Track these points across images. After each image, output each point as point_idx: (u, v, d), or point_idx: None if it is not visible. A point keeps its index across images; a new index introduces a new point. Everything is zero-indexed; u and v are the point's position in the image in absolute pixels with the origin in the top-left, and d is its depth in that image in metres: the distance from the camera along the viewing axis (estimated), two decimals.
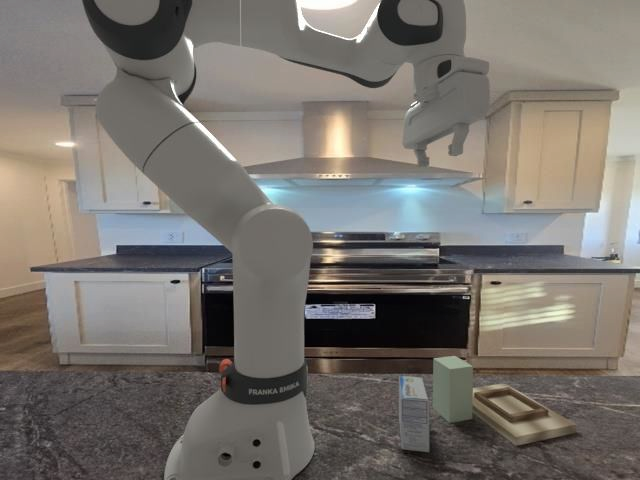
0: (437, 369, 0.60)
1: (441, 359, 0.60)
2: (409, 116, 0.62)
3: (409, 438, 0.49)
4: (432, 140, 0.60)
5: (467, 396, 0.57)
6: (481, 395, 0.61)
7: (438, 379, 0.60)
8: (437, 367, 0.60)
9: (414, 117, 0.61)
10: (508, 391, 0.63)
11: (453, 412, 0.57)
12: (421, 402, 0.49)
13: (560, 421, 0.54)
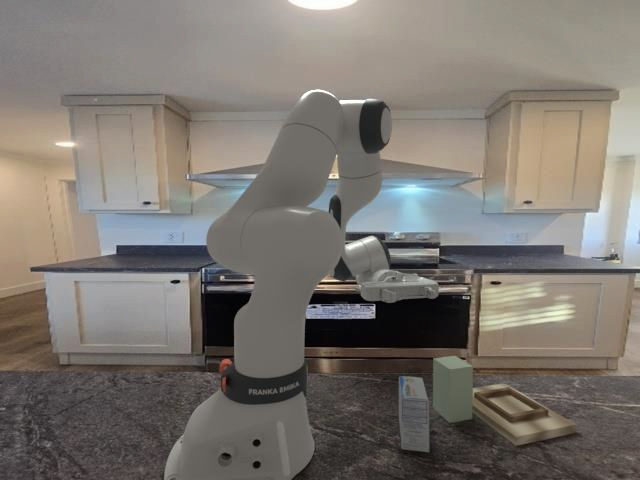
0: (437, 369, 0.60)
1: (441, 359, 0.60)
2: (369, 282, 0.80)
3: (409, 438, 0.49)
4: None
5: (467, 396, 0.57)
6: (481, 395, 0.61)
7: (438, 379, 0.60)
8: (437, 367, 0.60)
9: (375, 283, 0.80)
10: (508, 391, 0.63)
11: (453, 412, 0.56)
12: (422, 402, 0.49)
13: (560, 421, 0.54)
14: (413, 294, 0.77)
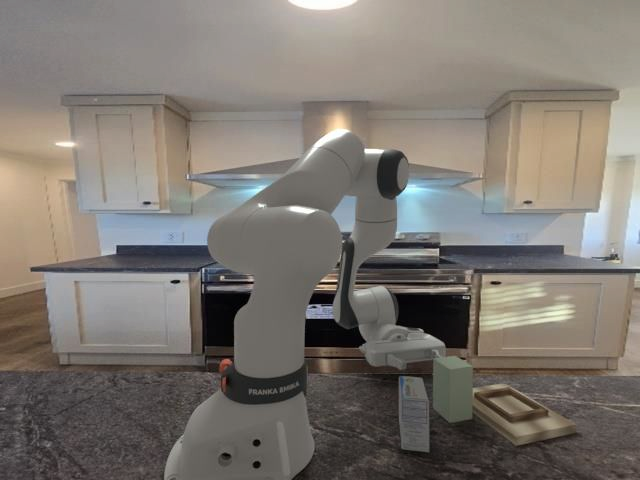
0: (437, 369, 0.60)
1: (441, 359, 0.60)
2: (373, 342, 0.77)
3: (409, 438, 0.49)
4: None
5: (467, 396, 0.57)
6: (481, 395, 0.61)
7: (438, 379, 0.60)
8: (437, 367, 0.60)
9: (380, 344, 0.77)
10: (508, 391, 0.63)
11: (453, 412, 0.56)
12: (422, 402, 0.49)
13: (560, 421, 0.54)
14: (419, 357, 0.75)
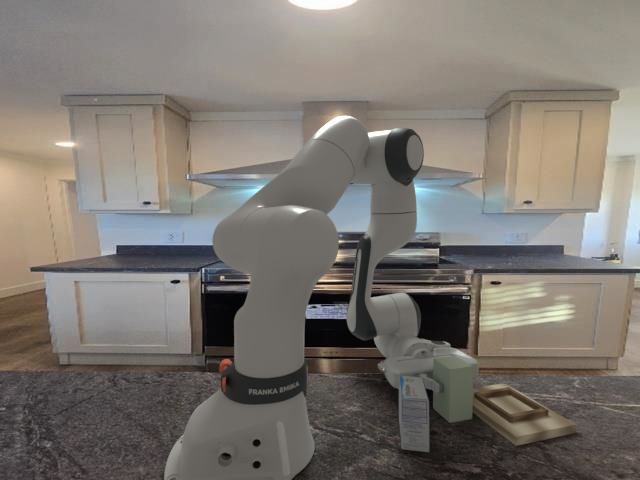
0: (437, 369, 0.60)
1: (441, 359, 0.60)
2: (394, 359, 0.67)
3: (409, 438, 0.49)
4: None
5: (467, 396, 0.57)
6: (481, 395, 0.61)
7: (438, 379, 0.60)
8: (437, 367, 0.60)
9: (402, 361, 0.66)
10: (508, 391, 0.63)
11: (453, 412, 0.56)
12: (422, 402, 0.49)
13: (560, 421, 0.54)
14: None
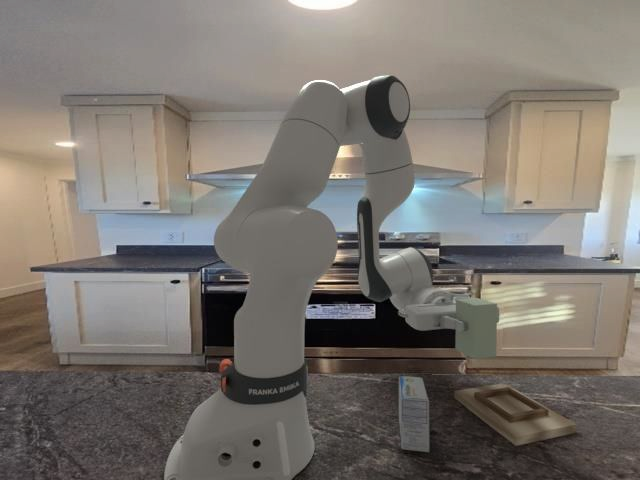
0: (460, 309, 0.60)
1: (464, 300, 0.60)
2: (415, 305, 0.67)
3: (409, 438, 0.49)
4: None
5: (491, 333, 0.57)
6: (481, 395, 0.61)
7: (461, 319, 0.59)
8: (460, 307, 0.60)
9: (423, 307, 0.66)
10: (508, 391, 0.63)
11: (477, 349, 0.56)
12: (422, 402, 0.49)
13: (560, 421, 0.54)
14: None
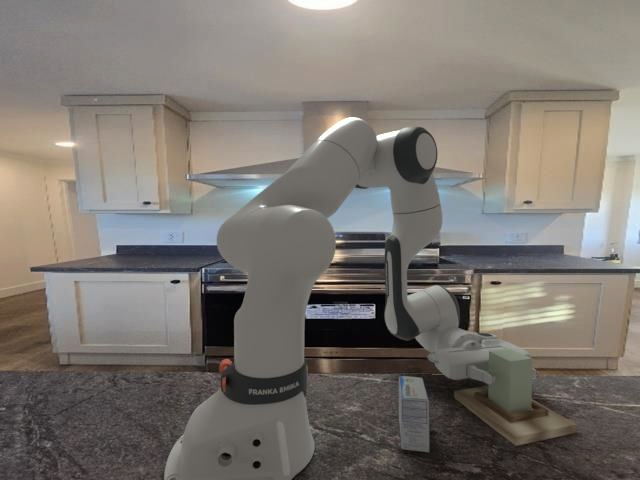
0: (494, 362, 0.59)
1: (497, 352, 0.60)
2: (445, 350, 0.67)
3: (409, 438, 0.49)
4: None
5: (526, 388, 0.57)
6: (481, 395, 0.61)
7: (494, 372, 0.59)
8: (494, 360, 0.59)
9: (453, 352, 0.66)
10: None
11: (513, 405, 0.56)
12: (422, 402, 0.49)
13: (560, 421, 0.54)
14: None
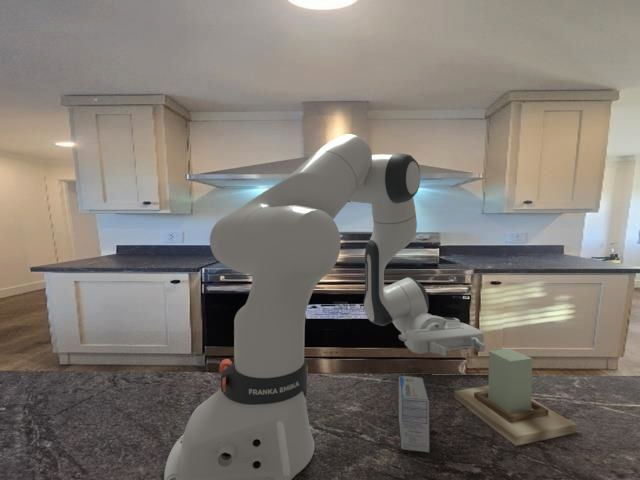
0: (494, 362, 0.59)
1: (497, 352, 0.60)
2: (413, 331, 0.79)
3: (409, 438, 0.49)
4: None
5: (526, 388, 0.57)
6: (481, 395, 0.61)
7: (494, 372, 0.59)
8: (494, 360, 0.59)
9: (420, 332, 0.79)
10: None
11: (513, 405, 0.56)
12: (422, 402, 0.49)
13: (560, 421, 0.54)
14: (459, 344, 0.77)
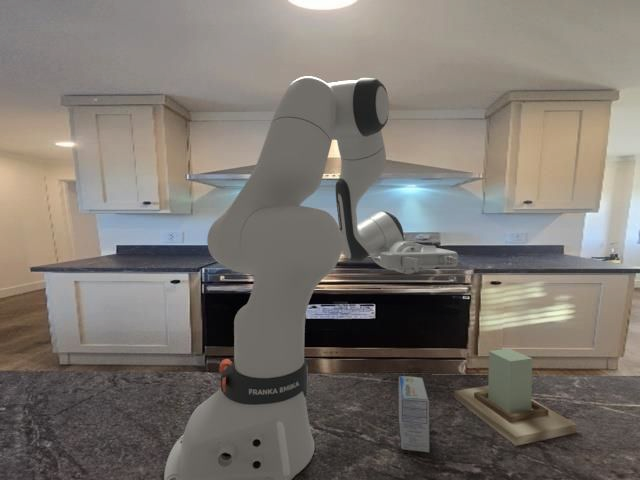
0: (494, 362, 0.59)
1: (497, 352, 0.60)
2: (388, 252, 0.80)
3: (409, 438, 0.49)
4: None
5: (526, 388, 0.57)
6: (481, 395, 0.61)
7: (494, 372, 0.59)
8: (494, 360, 0.59)
9: (395, 253, 0.80)
10: None
11: (513, 405, 0.56)
12: (422, 402, 0.49)
13: (560, 421, 0.54)
14: (433, 263, 0.78)
